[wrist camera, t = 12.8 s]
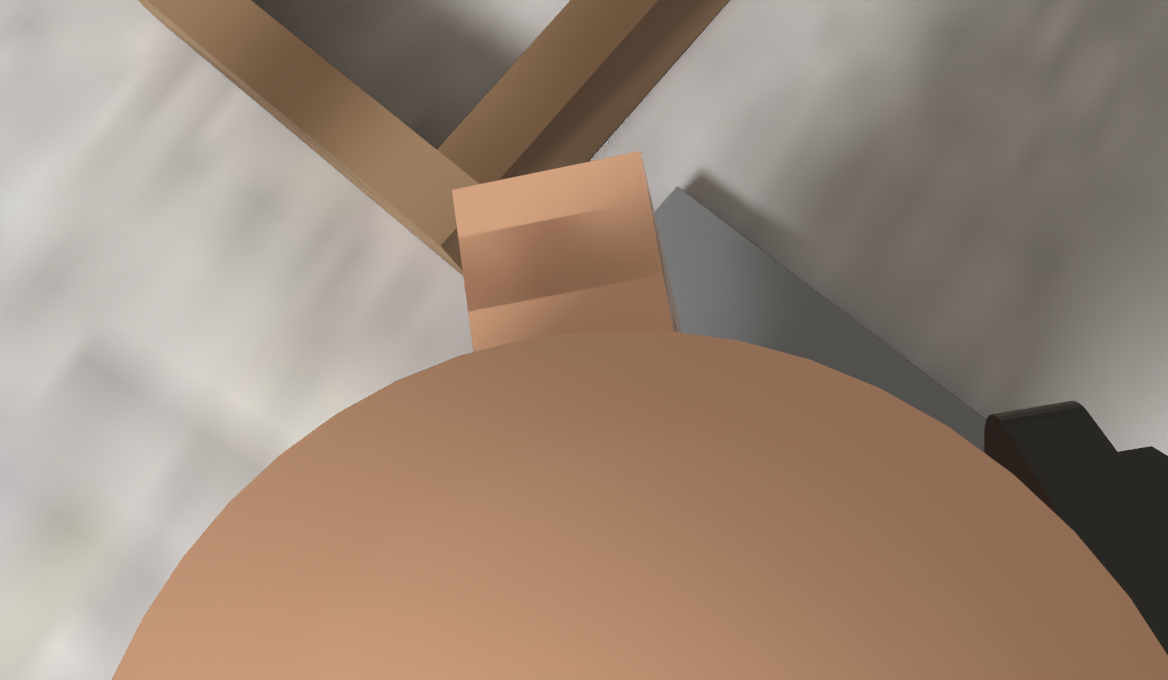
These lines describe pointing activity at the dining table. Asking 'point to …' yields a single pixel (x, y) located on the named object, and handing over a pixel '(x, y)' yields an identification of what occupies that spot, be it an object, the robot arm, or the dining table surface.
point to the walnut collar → (489, 132)
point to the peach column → (630, 504)
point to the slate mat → (784, 312)
